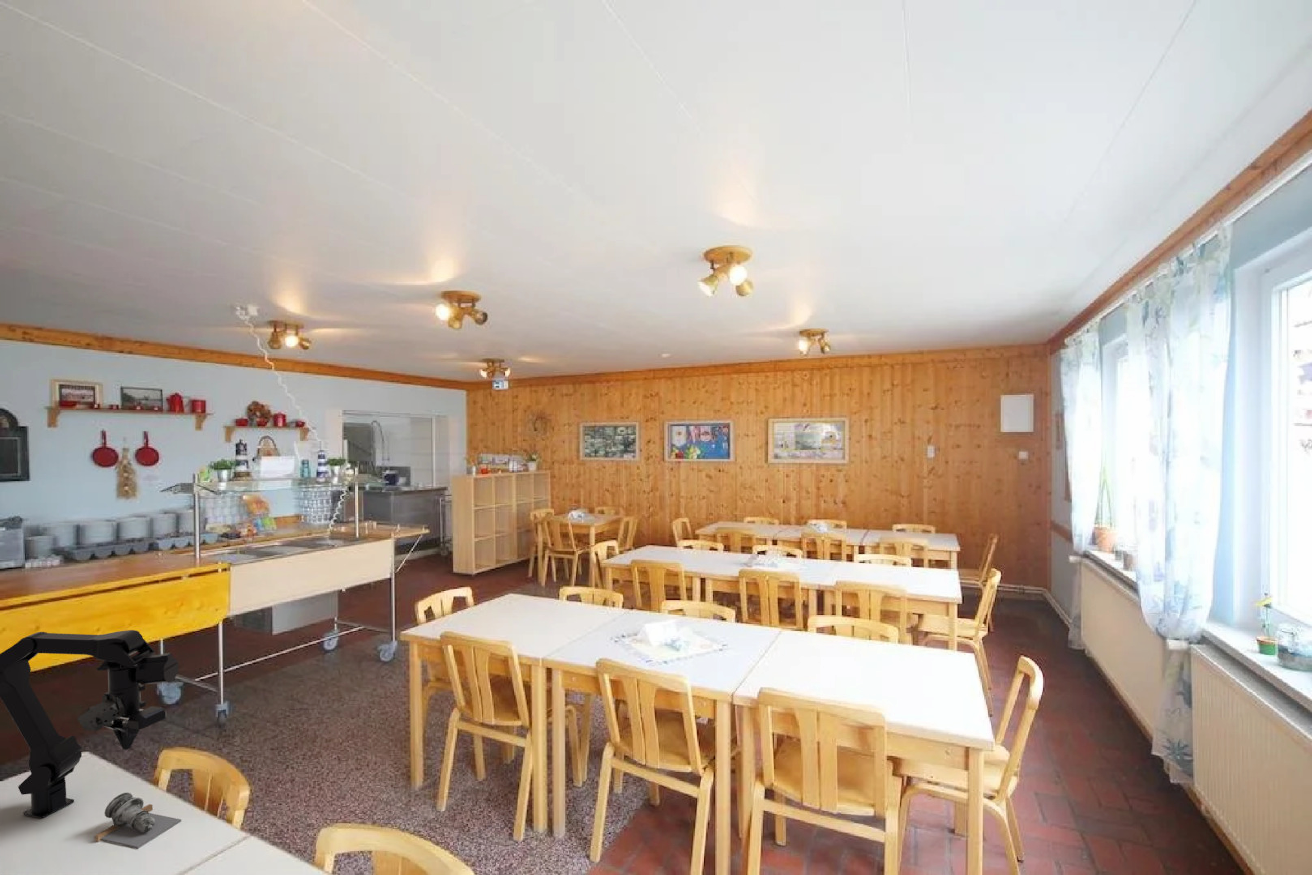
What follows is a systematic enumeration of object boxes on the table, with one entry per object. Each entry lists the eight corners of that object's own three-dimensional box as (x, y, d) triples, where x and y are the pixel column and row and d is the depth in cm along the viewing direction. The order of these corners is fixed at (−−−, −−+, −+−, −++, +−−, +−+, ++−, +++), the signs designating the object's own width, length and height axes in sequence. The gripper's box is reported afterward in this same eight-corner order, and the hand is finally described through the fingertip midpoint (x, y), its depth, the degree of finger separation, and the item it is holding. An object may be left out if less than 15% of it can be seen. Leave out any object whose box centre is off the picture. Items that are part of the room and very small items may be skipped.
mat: (100, 840, 129) (100, 838, 129) (145, 813, 138) (145, 812, 138) (138, 848, 126) (137, 846, 126) (181, 821, 135) (181, 819, 135)
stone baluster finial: (102, 825, 132) (137, 849, 128) (102, 803, 131) (137, 827, 127) (133, 806, 138) (167, 829, 134) (134, 785, 136) (167, 808, 133)
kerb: (94, 840, 129) (94, 835, 129) (149, 809, 139) (149, 804, 139) (98, 841, 129) (97, 836, 129) (152, 809, 139) (152, 804, 139)
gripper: (56, 696, 137) (58, 762, 138) (114, 704, 132) (117, 773, 133) (110, 676, 148) (113, 737, 148) (167, 683, 143) (169, 746, 144)
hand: (126, 748), depth 143 cm, fingers closed
